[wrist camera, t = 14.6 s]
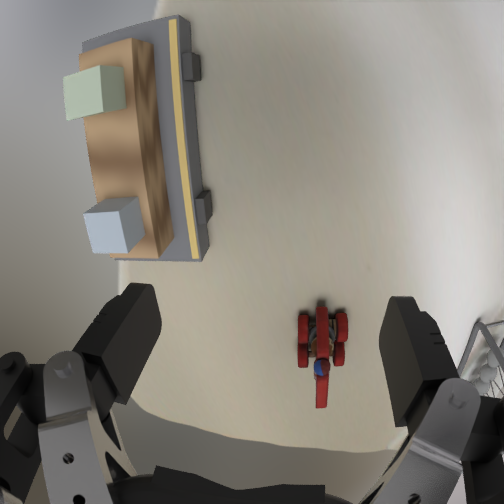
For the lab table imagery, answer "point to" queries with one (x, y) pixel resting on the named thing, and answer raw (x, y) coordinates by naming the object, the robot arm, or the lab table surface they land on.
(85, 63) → the tan wooden bar
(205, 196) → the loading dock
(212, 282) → the lab table surface
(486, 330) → the newton's cradle
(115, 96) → the block
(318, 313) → the toy fire truck
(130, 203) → the block
